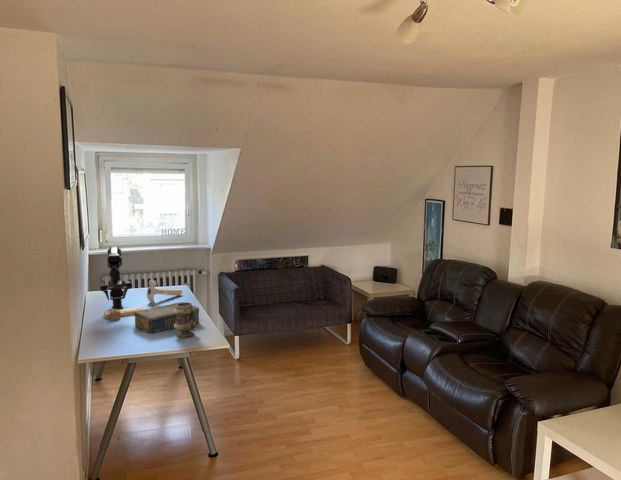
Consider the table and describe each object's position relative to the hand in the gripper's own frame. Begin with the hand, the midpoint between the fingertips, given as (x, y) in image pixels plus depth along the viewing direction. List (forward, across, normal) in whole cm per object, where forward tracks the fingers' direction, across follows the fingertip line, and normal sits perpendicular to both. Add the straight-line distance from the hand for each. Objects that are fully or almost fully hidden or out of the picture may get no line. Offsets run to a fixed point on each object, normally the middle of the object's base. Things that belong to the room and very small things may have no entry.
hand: (116, 299), depth 305 cm
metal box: (+13, +22, -31) cm, 41 cm away
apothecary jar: (+12, +25, -56) cm, 63 cm away
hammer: (+13, +40, +32) cm, 53 cm away
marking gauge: (+12, -1, +2) cm, 13 cm away
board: (+12, +6, +6) cm, 15 cm away
